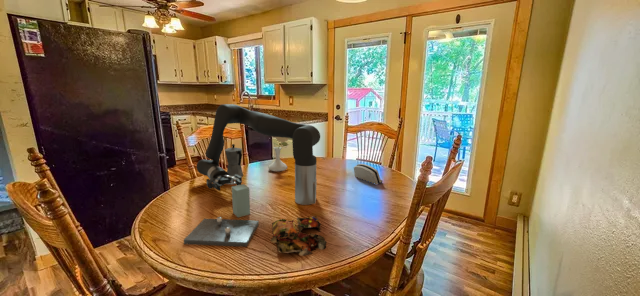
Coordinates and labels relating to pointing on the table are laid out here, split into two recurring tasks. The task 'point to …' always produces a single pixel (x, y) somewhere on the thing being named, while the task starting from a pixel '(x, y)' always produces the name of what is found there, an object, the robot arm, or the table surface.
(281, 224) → the food
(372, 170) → the napkin holder
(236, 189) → the block
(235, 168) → the coffeepot
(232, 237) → the mounting plate
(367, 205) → the table surface
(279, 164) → the flower in vase
